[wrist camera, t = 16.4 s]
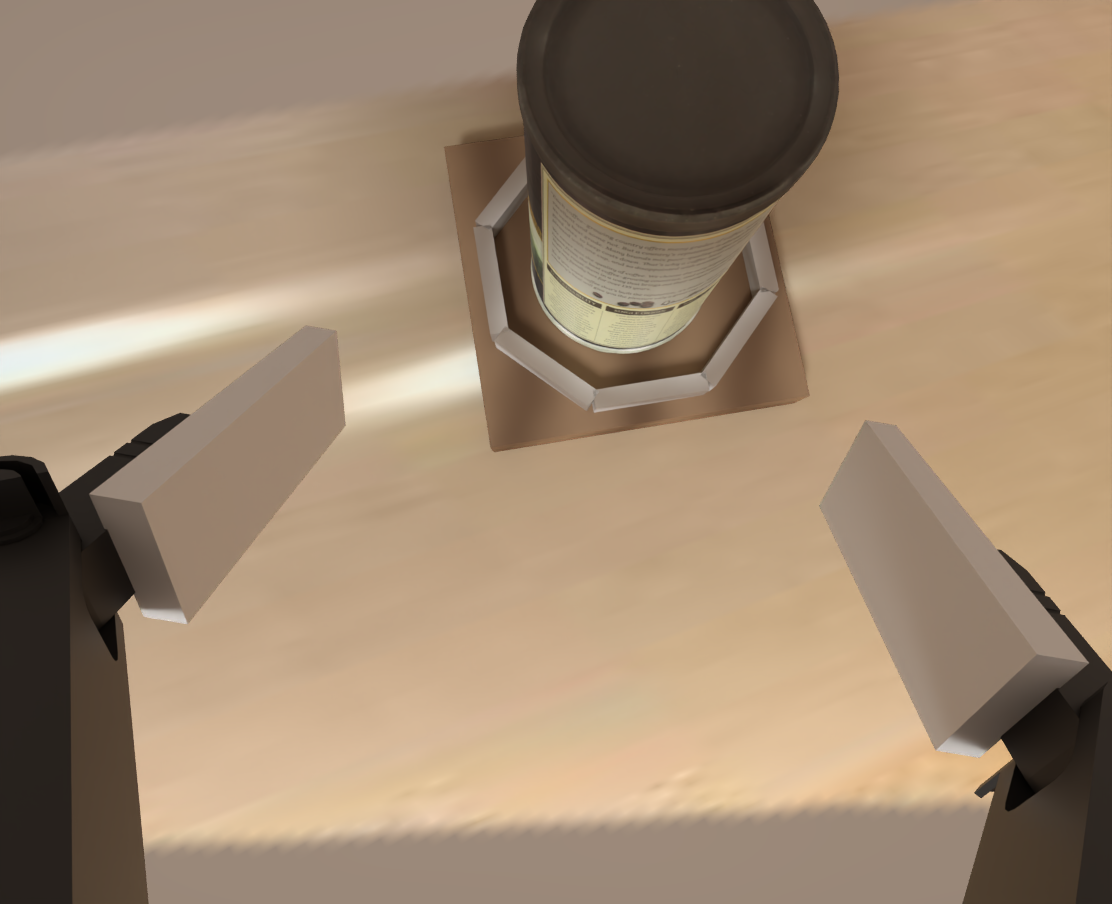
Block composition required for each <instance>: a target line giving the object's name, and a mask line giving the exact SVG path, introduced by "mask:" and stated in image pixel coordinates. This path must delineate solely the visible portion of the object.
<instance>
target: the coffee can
mask: <svg viewBox="0 0 1112 904" xmlns="http://www.w3.org/2000/svg"><path fill="white" fill-rule="evenodd" d="M838 83H839V73H838V61H837V54H836V50H835V46H834V42H833V39H832V36H831V34H830V31H829V28H828V26H827V23H826V21H825V19H824V17H823V15H822V14H821V12H820V10H819V8H818V6H817V5H816V4H815V2H814V1H813V0H536V2H535V4H534V6H533V8H532V10H531V12H530V14H529V16H528V18H527V20H526V23H525V25H524V27H523V31H522V35H521V39H520V43H519V49H518V54H517V89H518V98H519V105H520V110H521V115H522V119H523V125H524V142H525V159H526V172H527V188H528V204H529V221H530V240H531V275H532V282H533V287H534V290H535V293H536V296H537V298H538V301H539V303H540V305H541V307H542V309H543V311H544V312H545V314H546V315H547V317H548V318H549V319H550V320H551V321H552V323H553V324H554V325H555V326H556V327H557V328H558V329H559V330H560V331H562V332H563V333H564V334H565V335H567V336H568V337H569V338H571V339H573V340H574V341H576V342H578V343H580V344H582V345H584V346H586V347H589V348H591V349H594V350H597V351H600V352H607V353H617V354H628V353H638V352H642V351H646V350H649V349H652V348H655V347H657V346H660V345H662V344H664V343H666V342H668V341H670V340H672V339H673V338H674V337H675V336H676V335H678V334H679V333H680V332H682V331H683V330H684V329H685V328H686V327H687V326H688V325H689V324H690V323H691V321H692V320H693V319H694V317H695V316H696V314H697V313H698V311H699V310H700V308H701V305H702V304H703V302H704V301H705V300H706V298H707V297H708V295H709V294H710V293H711V291H712V290H713V289H714V287H715V286H716V285H717V283H718V282H719V281H720V279H721V278H722V277H723V275H724V274H725V273H726V272H727V270H728V269H729V267H730V266H731V265H732V263H733V262H734V261H735V259H736V258H737V256H738V255H739V254H740V252H741V251H742V250H743V248H744V247H745V246H746V244H747V243H748V241H749V240H750V239H751V237H752V236H753V235H754V233H755V232H756V231H757V229H758V228H759V227H760V225H761V224H762V222H763V221H764V220H765V218H766V217H767V216H768V214H769V213H770V211H771V210H772V209H773V207H774V206H775V205H776V203H777V202H778V201H779V199H780V198H781V197H782V196H783V195H784V194H785V193H786V192H787V191H788V190H789V189H790V188H791V187H792V186H793V185H794V184H795V183H796V182H797V181H798V179H799V178H800V177H801V176H802V175H803V174H804V173H805V171H806V170H807V169H808V168H809V166H810V165H811V164H812V162H813V161H814V160H815V158H816V157H817V155H818V154H819V152H820V150H821V148H822V146H823V145H824V143H825V141H826V138H827V136H828V134H829V131H830V129H831V126H832V123H833V119H834V116H835V111H836V107H837V100H838V93H839V86H838Z"/></svg>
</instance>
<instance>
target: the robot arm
mask: <svg viewBox="0 0 1112 904" xmlns="http://www.w3.org/2000/svg"><path fill="white" fill-rule="evenodd" d="M345 426H346V424H345V414H344V403H343V393H342V382H341V372H340V361H339V351H338V340H337V331H335V330H329V329H323V328H318V327H312V326H304V327H303V328H302V329H301V330H299V331H298V332H297V333H295V334H294V335H293V336H292V337H290V338H289V339H288V340H286V341H285V342H284V343H283V344H281V345H280V346H279V347H277V348H276V349H275V350H274V351H272V352H271V353H270V354H268V355H267V356H266V357H265V358H263V359H262V360H261V361H259V362H258V363H257V364H256V365H254V366H253V367H252V368H250V369H249V370H248V371H247V372H245V373H244V374H243V375H241V376H240V377H239V378H238V379H236V380H235V381H234V382H232V383H231V384H230V385H229V386H227V387H226V388H225V389H223V390H222V391H221V392H220V393H218V394H217V395H216V396H214V397H213V398H212V399H211V400H209V401H208V402H207V403H205V404H204V405H203V406H201V407H200V408H199V409H198V410H196V411H195V412H194V413H192V414H191V415H189V414H183V413H179V414H176V415H174V416H172V417H169V418H167V419H164V420H162V421H159V422H157V423H154V424H152V425H151V426H149V427H148V428H147V429H145V430H144V431H142V432H141V433H140V434H138V435H137V436H136V437H134V438H133V439H132V440H131V443H126V444H125V445H123V446H122V447H121V448H119V449H118V450H117V451H115V452H114V455H113V456H108V457H107V458H106V459H104V460H103V461H102V462H100V463H99V464H97V465H96V466H95V467H93V468H92V469H91V470H89V471H88V472H87V473H85V474H84V475H82V476H81V477H80V478H78V479H77V480H76V481H74V482H73V483H72V484H70V485H69V486H67V487H66V488H65V489H63V490H62V491H61V492H58V490H57V488H56V486H55V484H54V482H53V480H52V478H51V476H50V474H49V472H48V470H47V468H46V466H45V464H44V462H41V461H39V460H37V459H35V458H32V457H25V456H14V455H11V456H1V457H0V904H148V893H147V882H146V871H145V860H144V849H143V838H142V827H141V816H140V805H139V794H138V783H137V772H136V762H135V751H134V740H133V729H132V718H131V707H130V696H129V685H128V674H127V663H126V652H125V642H124V631H123V623H122V621H121V619H120V617H119V615H118V613H117V611H118V610H119V609H120V608H121V607H122V606H123V605H124V604H125V603H126V602H127V601H128V600H129V599H130V598H131V597H132V595H133V594H134V596H135V598H136V600H137V602H138V605H139V607H140V609H141V611H142V613H143V616H144V617H148V618H154V619H160V620H166V621H172V622H178V623H184V624H188V623H189V622H190V621H191V619H192V618H193V617H194V616H195V614H196V613H197V612H198V611H199V609H200V608H201V607H202V606H203V604H204V603H205V602H206V600H207V599H208V598H209V597H210V595H211V594H212V593H213V592H214V590H215V589H216V588H217V587H218V585H219V584H220V583H221V582H222V580H223V579H224V578H225V577H226V575H227V574H228V573H229V572H230V570H231V569H232V568H233V567H234V565H235V564H236V563H237V561H238V560H239V559H240V558H241V556H242V555H243V554H244V553H245V551H246V550H247V549H248V548H249V546H250V545H251V544H252V543H253V541H254V540H255V539H256V538H257V536H258V535H259V534H260V533H261V531H262V530H263V529H264V528H265V526H266V525H267V524H268V522H269V521H270V520H271V519H272V517H273V516H274V515H275V514H276V512H277V511H278V510H279V509H280V507H281V506H282V505H283V504H284V502H285V501H286V500H287V499H288V497H289V496H290V495H291V494H292V492H293V491H294V490H295V489H296V487H297V486H298V485H299V483H300V482H301V481H302V480H303V478H304V477H305V476H306V475H307V473H308V472H309V471H310V470H311V468H312V467H313V466H314V465H315V463H316V462H317V461H318V460H319V458H320V457H321V456H322V455H323V453H324V452H325V451H326V450H327V448H328V447H329V446H330V444H331V443H332V442H333V441H334V439H335V438H336V437H337V436H338V434H339V433H340V432H341V431H342V429H343V428H344V427H345ZM819 506H820V508H821V511H822V513H823V515H824V517H825V519H826V521H827V523H828V525H829V527H830V529H831V532H832V534H833V536H834V538H835V540H836V542H837V544H838V546H839V548H840V550H841V553H842V555H843V557H844V559H845V561H846V563H847V565H848V567H849V569H850V571H851V574H852V576H853V578H854V580H855V582H856V584H857V586H858V588H859V590H860V592H861V595H862V597H863V599H864V601H865V603H866V605H867V607H868V609H869V611H870V613H871V616H872V618H873V620H874V622H875V624H876V626H877V628H878V630H879V632H880V635H881V637H882V639H883V641H884V643H885V645H886V647H887V649H888V651H889V653H890V656H891V658H892V660H893V662H894V664H895V666H896V668H897V670H898V672H899V674H900V677H901V679H902V681H903V683H904V685H905V687H906V689H907V691H908V693H909V695H910V698H911V700H912V702H913V704H914V706H915V708H916V710H917V712H918V714H919V717H920V719H921V721H922V723H923V725H924V727H925V729H926V731H927V733H928V735H929V738H930V740H931V742H932V744H933V746H934V748H935V750H936V751H942V752H948V753H954V754H960V755H966V756H972V757H978V758H979V757H981V756H982V755H983V754H984V753H985V752H986V751H988V750H989V749H990V748H991V747H992V746H993V745H995V744H996V743H997V742H998V741H999V740H1000V739H1002V741H1003V742H1004V744H1005V746H1006V747H1007V749H1008V751H1009V752H1010V754H1011V756H1012V758H1013V759H1012V760H1011V761H1010V762H1009V763H1007V764H1006V765H1005V766H1004V767H1002V768H1001V769H1000V770H999V771H997V772H996V773H995V774H994V775H993V776H991V777H990V778H989V779H988V780H986V781H985V782H984V783H983V784H981V785H980V786H979V787H978V789H977V790H976V791H975V792H974V793H975V794H976V795H977V796H979V797H980V798H982V797H983V796H985V795H986V794H987V793H988V792H994V795H993V799H992V802H991V806H990V809H989V813H988V816H987V820H986V823H985V827H984V831H983V834H982V837H981V841H980V845H979V848H978V851H977V855H976V858H975V862H974V865H973V869H972V872H971V876H970V879H969V883H968V886H967V890H966V893H965V897H964V901H963V904H1112V671H1111V670H1110V669H1109V668H1108V666H1107V665H1106V664H1105V663H1104V662H1103V661H1102V659H1101V658H1100V657H1099V656H1098V655H1097V653H1096V652H1095V651H1094V650H1093V649H1092V647H1091V646H1090V645H1089V644H1088V643H1087V641H1086V640H1085V639H1084V638H1083V637H1082V635H1081V634H1080V633H1079V632H1078V631H1077V630H1076V628H1075V627H1074V626H1073V625H1072V624H1071V622H1070V621H1069V620H1068V619H1067V618H1066V616H1065V615H1061V614H1060V611H1061V610H1060V609H1059V608H1058V607H1057V606H1056V604H1055V603H1054V602H1053V601H1052V600H1051V599H1050V597H1047V596H1045V591H1044V590H1043V589H1042V588H1041V587H1040V585H1039V584H1038V583H1037V582H1036V581H1035V579H1034V578H1033V577H1032V576H1031V575H1030V573H1029V572H1028V571H1027V570H1026V569H1024V568H1023V567H1022V566H1021V565H1019V564H1018V563H1017V562H1016V561H1014V560H1013V559H1012V558H1011V557H1009V556H1008V555H1007V554H1006V553H1004V552H1003V551H1002V550H998V549H996V548H995V547H994V545H993V544H992V543H991V542H990V540H989V539H988V538H987V537H986V535H985V534H984V533H983V532H982V530H981V529H980V528H979V527H978V526H977V524H976V523H975V522H974V521H973V519H972V518H971V517H970V516H969V514H968V513H967V512H966V511H965V510H964V508H963V507H962V506H961V505H960V503H959V502H958V501H957V500H956V498H955V497H954V496H953V495H952V494H951V492H950V491H949V490H948V489H947V487H946V486H945V485H944V484H943V482H942V481H941V480H940V479H939V478H938V476H937V475H936V474H935V473H934V471H933V470H932V469H931V468H930V466H929V465H928V464H927V463H926V462H925V460H924V459H923V458H922V457H921V455H920V454H919V453H918V452H917V450H916V449H915V448H914V447H913V446H912V444H911V443H910V442H909V441H908V439H907V438H906V437H905V436H904V434H903V433H902V432H901V431H900V429H899V428H898V427H897V426H896V425H891V424H885V423H879V422H873V421H867V420H865V422H864V424H863V426H862V427H861V429H860V431H859V433H858V435H857V437H856V438H855V440H854V442H853V444H852V446H851V448H850V450H849V451H848V453H847V455H846V457H845V459H844V461H843V462H842V464H841V466H840V468H839V470H838V472H837V474H836V475H835V477H834V479H833V481H832V483H831V485H830V486H829V488H828V490H827V492H826V494H825V496H824V497H823V499H822V501H821V503H820V505H819Z"/></svg>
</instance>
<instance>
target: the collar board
mask: <svg viewBox="0 0 1112 904" xmlns="http://www.w3.org/2000/svg"><path fill="white" fill-rule="evenodd" d="M444 149H445V155H446V161H447V168H448V174H449V181H450V187H451V194H452V200H453V207H454V213H455V220H456V226H457V233H458V239H459V246H460V252H461V259H462V265H463V271H464V278H465V284H466V291H467V297H468V304H469V310H470V317H471V323H472V330H473V336H474V343H475V349H476V356H477V362H478V368H479V375H480V381H481V388H482V394H483V401H484V407H485V414H486V420H487V427H488V433H489V440H490V446H491V449H492V450H493V451H494V452H498V451H504V450H510V449H517V448H523V447H529V446H535V445H541V444H547V443H553V442H559V441H565V440H572V439H578V438H584V437H590V436H596V435H602V434H608V433H614V432H620V431H627V430H633V429H639V428H645V427H651V426H657V425H663V424H669V423H676V422H682V421H688V420H694V419H700V418H706V417H712V416H718V415H724V414H731V413H737V412H743V411H749V410H755V409H761V408H767V407H773V406H779V405H786V404H792V403H795V402H797V401H799V400H801V399H804V398H806V397H808V396H810V395H809V390H808V386H807V381H806V377H805V373H804V368H803V364H802V359H801V355H800V351H799V346H798V342H797V337H796V333H795V329H794V324H793V320H792V315H791V311H790V307H789V302H788V298H787V293H786V289H785V285H784V280H783V276H782V271H781V267H780V263H779V258H778V254H777V250H776V245H775V241H774V236H773V232H772V228H771V223H770V219H769V214H768V216H767V217H766V218H765V220H764V221H763V222H762V224H761V225H760V227H759V228H758V229H757V231H756V232H755V233H754V235H753V236H752V237H751V239H750V240H749V241H748V243H747V244H746V246H745V247H744V248H743V250H742V251H741V252H740V254H739V255H738V256H737V258H736V259H735V261H734V262H733V263H732V265H731V266H730V267H729V269H728V270H727V272H726V273H725V274H724V275H723V277H722V278H721V279H720V281H719V282H718V283H717V285H716V286H715V287H714V289H713V290H712V291H711V293H710V294H709V295H708V297H707V298H706V300H705V301H704V302H703V304H702V305H701V308H700V310H699V311H698V313H697V314H696V316H695V317H694V319H693V320H692V321H691V323H690V324H689V325H688V326H687V327H686V328H685V329H684V330H683V331H682V332H680V333H679V334H678V335H676V336H675V337H674V338H673V339H672V340H670V341H668V342H666V343H664V344H662V345H660V346H657V347H655V348H652V349H649V350H646V351H642V352H638V353H628V354H617V353H607V352H600V351H597V350H594V349H591V348H589V347H586V346H584V345H582V344H580V343H578V342H576V341H574V340H573V339H571V338H569V337H568V336H567V335H565V334H564V333H563V332H562V331H560V330H559V329H558V328H557V327H556V326H555V325H554V324H553V323H552V321H551V320H550V319H549V318H548V317H547V315H546V314H545V312H544V311H543V309H542V307H541V305H540V303H539V301H538V298H537V296H536V293H535V290H534V287H533V282H532V275H531V240H530V221H529V204H528V188H527V172H526V159H525V142H524V136H517V137H510V138H503V139H496V140H489V141H482V142H475V143H468V144H461V145H454V146H447V147H444Z"/></svg>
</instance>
